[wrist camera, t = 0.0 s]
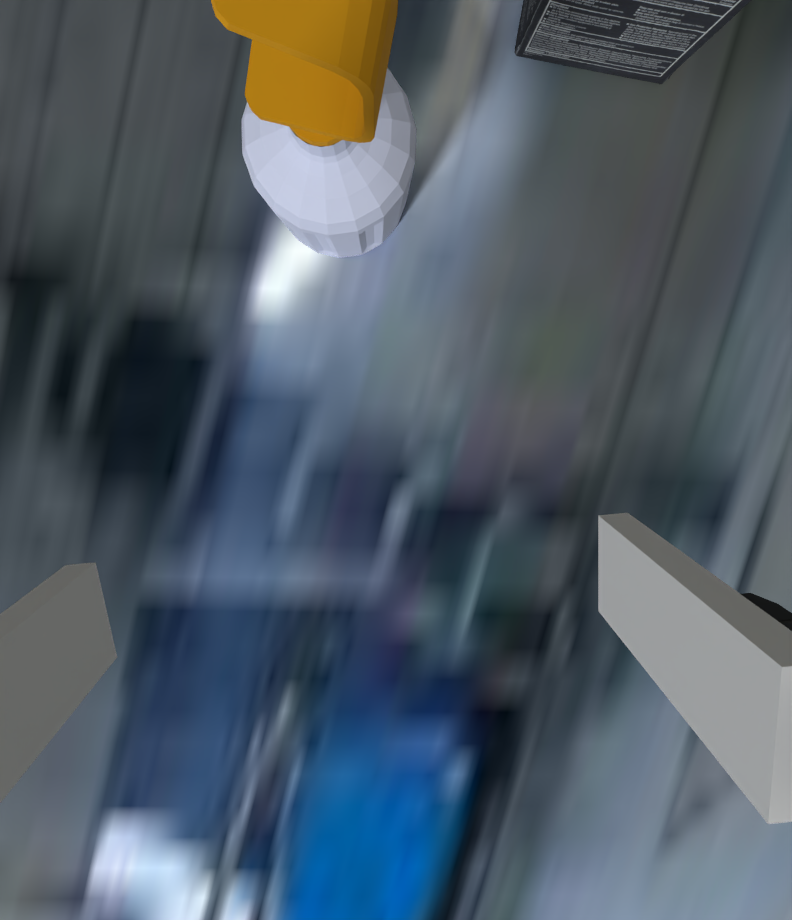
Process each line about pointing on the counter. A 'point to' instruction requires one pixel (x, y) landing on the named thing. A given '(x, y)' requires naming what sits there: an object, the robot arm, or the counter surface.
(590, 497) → the counter surface
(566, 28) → the small box
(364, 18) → the soap bottle
